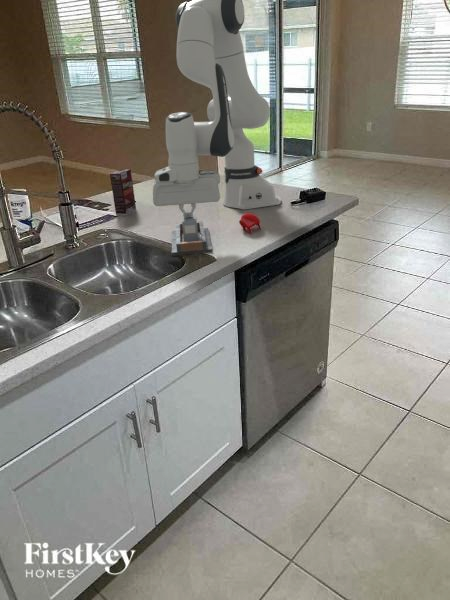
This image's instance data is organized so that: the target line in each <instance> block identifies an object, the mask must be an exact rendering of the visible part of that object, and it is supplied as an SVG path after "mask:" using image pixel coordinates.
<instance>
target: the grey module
mask: <svg viewBox="0 0 450 600" xmlns="http://www.w3.org/2000/svg"><path fill="white" fill-rule="evenodd" d="M197 222H198V220H197V214H196V213H193V218H184V216H183V214H182V215H181V223H182V226H183V236H184V242H192V241H198V231H197Z"/></svg>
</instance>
